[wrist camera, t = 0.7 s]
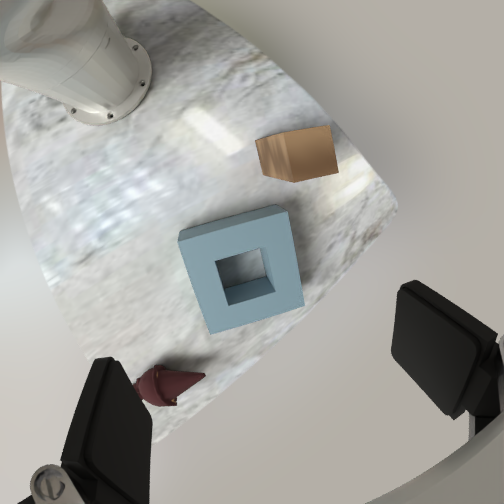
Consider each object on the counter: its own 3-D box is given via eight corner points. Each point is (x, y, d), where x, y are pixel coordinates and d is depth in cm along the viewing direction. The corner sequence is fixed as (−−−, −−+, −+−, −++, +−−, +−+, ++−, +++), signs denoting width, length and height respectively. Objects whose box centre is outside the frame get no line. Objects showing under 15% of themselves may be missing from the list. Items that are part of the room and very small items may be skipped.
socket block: (179, 231, 36) (177, 242, 31) (275, 204, 37) (287, 211, 33) (208, 315, 41) (210, 334, 36) (293, 289, 42) (304, 305, 37)
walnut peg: (255, 140, 34) (282, 132, 23) (288, 133, 35) (329, 125, 24) (263, 175, 36) (293, 182, 25) (296, 167, 36) (338, 172, 25)
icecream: (190, 365, 35) (106, 387, 36) (213, 406, 36) (131, 422, 37) (198, 344, 42) (122, 367, 43) (217, 381, 43) (143, 400, 44)
